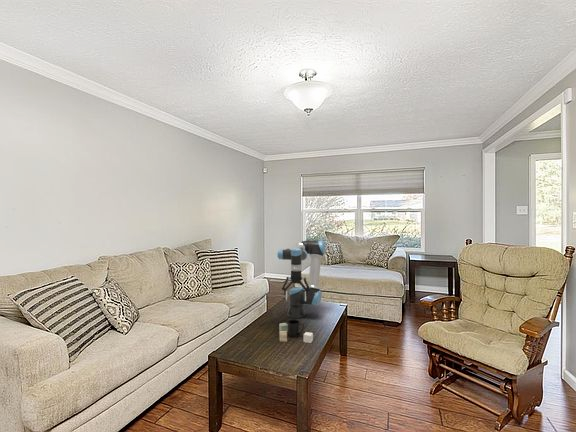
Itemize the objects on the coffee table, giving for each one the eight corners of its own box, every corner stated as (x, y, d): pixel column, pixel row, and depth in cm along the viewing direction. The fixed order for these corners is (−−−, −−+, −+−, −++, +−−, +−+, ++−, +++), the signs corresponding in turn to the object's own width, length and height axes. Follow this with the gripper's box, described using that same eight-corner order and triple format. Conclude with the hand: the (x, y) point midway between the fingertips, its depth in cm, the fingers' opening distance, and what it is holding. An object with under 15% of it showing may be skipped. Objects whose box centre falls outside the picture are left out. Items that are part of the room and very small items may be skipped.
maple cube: (279, 338, 205) (279, 331, 205) (286, 338, 205) (286, 331, 205) (279, 341, 200) (279, 334, 200) (287, 341, 200) (287, 334, 200)
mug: (301, 339, 203) (301, 325, 203) (285, 336, 209) (285, 322, 209) (306, 334, 211) (306, 321, 211) (291, 332, 216) (291, 318, 216)
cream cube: (305, 339, 204) (305, 331, 204) (312, 340, 202) (312, 333, 202) (303, 342, 199) (303, 334, 199) (310, 343, 197) (310, 335, 197)
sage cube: (279, 330, 220) (279, 323, 219) (285, 329, 221) (285, 322, 221) (281, 332, 215) (281, 326, 215) (287, 332, 216) (287, 325, 216)
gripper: (278, 270, 212) (277, 300, 211) (313, 271, 208) (313, 302, 207) (279, 269, 219) (279, 298, 218) (313, 270, 215) (313, 299, 215)
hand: (295, 300), depth 213 cm, fingers open, 13 cm apart
